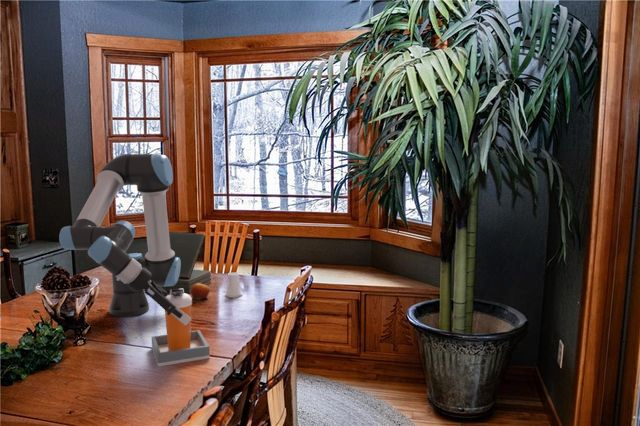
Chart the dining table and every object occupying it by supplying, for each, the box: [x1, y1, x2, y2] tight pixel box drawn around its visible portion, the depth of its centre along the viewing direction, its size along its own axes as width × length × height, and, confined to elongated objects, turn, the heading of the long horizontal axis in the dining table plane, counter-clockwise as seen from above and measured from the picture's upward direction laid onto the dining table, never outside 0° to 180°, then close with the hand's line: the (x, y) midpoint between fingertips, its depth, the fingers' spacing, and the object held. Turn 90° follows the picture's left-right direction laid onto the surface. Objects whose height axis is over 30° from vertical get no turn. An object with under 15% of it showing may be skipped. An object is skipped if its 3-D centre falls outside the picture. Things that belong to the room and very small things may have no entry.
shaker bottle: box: [164, 288, 193, 351], centre depth 174 cm, size 9×9×20 cm
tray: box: [151, 329, 211, 367], centre depth 175 cm, size 16×16×4 cm
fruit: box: [190, 283, 211, 302], centre depth 235 cm, size 8×8×8 cm
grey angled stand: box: [160, 231, 212, 295], centre depth 254 cm, size 23×20×25 cm
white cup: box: [224, 271, 243, 298], centre depth 240 cm, size 8×8×10 cm
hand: (184, 315), depth 175 cm, fingers open, 13 cm apart
